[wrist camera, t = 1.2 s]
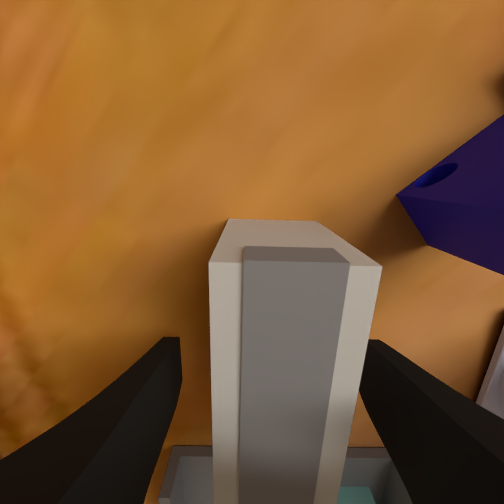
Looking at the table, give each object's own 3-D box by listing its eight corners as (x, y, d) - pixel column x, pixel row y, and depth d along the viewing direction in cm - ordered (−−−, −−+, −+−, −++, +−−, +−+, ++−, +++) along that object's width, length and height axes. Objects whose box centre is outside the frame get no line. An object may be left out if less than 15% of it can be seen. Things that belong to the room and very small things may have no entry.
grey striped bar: (316, 218, 12) (385, 263, 6) (298, 394, 15) (330, 542, 9) (229, 216, 11) (207, 259, 6) (228, 393, 14) (214, 541, 9)
